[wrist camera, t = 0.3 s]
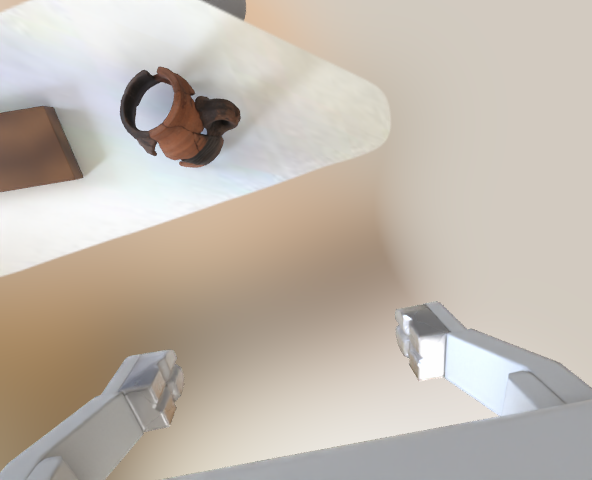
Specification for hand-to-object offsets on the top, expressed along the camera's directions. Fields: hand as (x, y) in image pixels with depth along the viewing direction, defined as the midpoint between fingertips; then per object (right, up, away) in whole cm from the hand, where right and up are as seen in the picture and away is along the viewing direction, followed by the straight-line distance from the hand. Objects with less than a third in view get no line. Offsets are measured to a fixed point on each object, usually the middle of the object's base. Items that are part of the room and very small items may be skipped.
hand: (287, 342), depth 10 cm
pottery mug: (-12, +18, +23) cm, 31 cm away
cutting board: (-35, +14, +22) cm, 43 cm away
